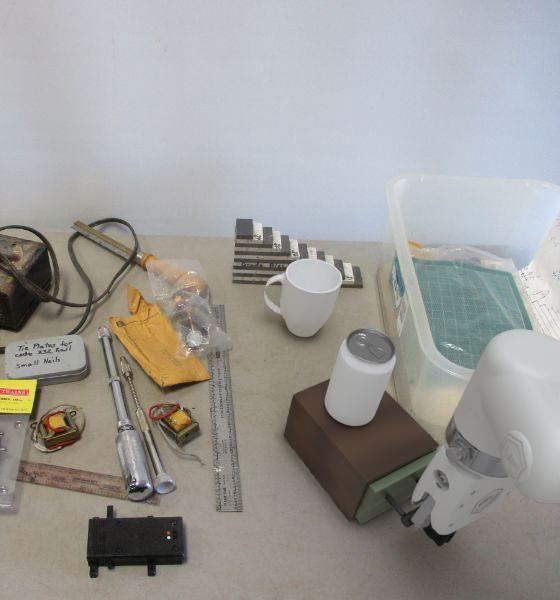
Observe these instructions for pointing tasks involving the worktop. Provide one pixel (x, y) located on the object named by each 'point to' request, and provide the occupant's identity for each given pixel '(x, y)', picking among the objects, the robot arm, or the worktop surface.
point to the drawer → (393, 491)
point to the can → (360, 376)
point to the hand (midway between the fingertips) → (434, 533)
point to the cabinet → (352, 445)
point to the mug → (306, 295)
